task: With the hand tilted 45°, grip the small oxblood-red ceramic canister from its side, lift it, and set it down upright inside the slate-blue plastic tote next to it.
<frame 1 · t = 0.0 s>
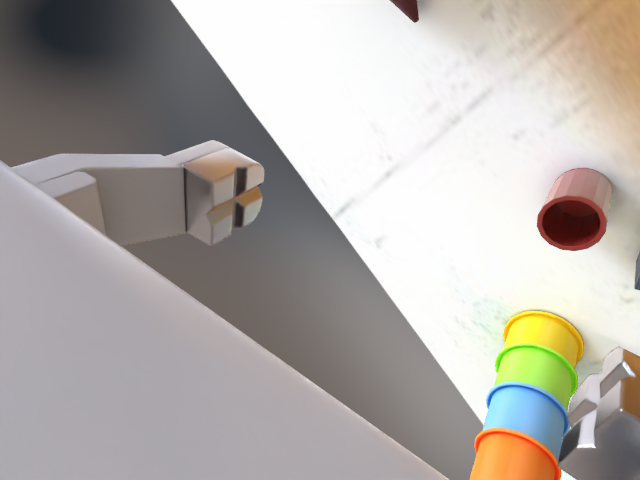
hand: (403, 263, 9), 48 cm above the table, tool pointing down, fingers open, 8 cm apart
canister: (580, 193, 50), on the table
stacking cups: (542, 338, 62), on the table
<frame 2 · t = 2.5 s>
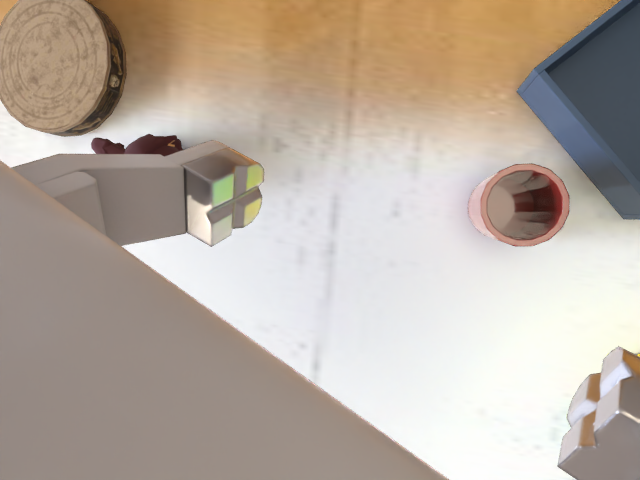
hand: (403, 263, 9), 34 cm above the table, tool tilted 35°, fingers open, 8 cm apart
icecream: (177, 170, 49), on the table
wood slice: (70, 70, 51), on the table
canister: (501, 207, 41), on the table
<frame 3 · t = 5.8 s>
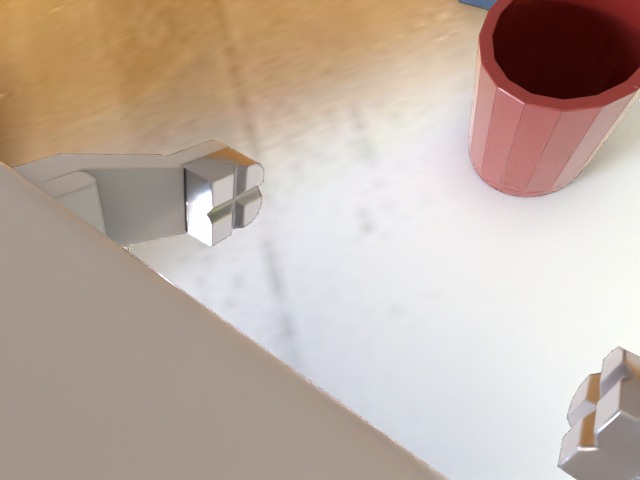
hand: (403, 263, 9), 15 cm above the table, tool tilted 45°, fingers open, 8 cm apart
canister: (527, 145, 24), on the table
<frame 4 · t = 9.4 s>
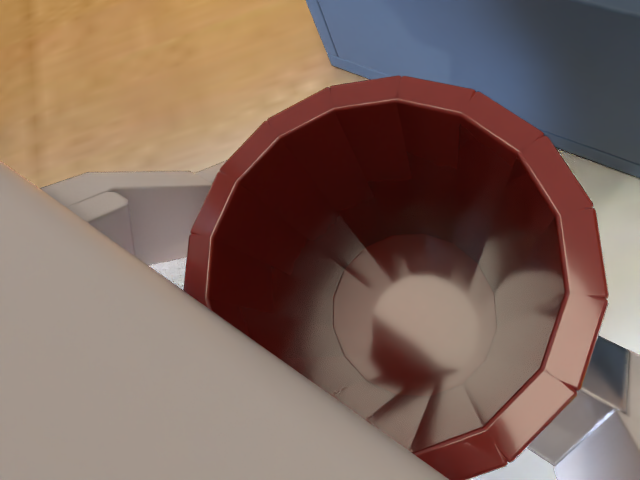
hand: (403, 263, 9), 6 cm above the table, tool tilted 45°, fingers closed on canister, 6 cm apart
canister: (412, 313, 15), on the table, touching gripper
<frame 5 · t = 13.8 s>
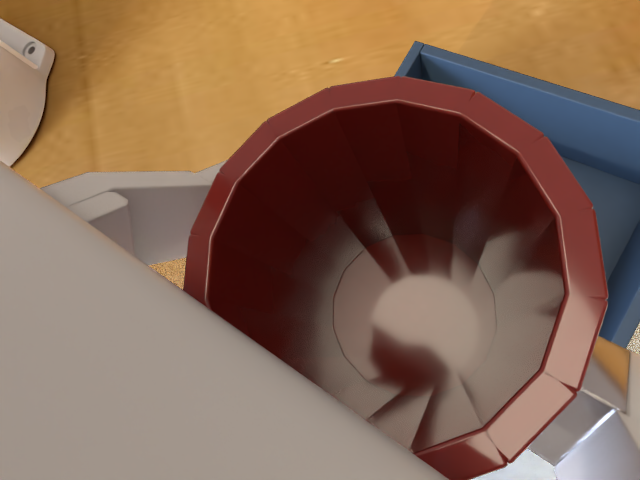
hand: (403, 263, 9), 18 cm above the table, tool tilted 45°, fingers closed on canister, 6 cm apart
tote: (472, 245, 26), on the table
canister: (412, 313, 15), point 12 cm above the table, touching gripper
when the fingers open (7 cm above the table, at t = 18.4 s): canister stays where it is, resting on tote.
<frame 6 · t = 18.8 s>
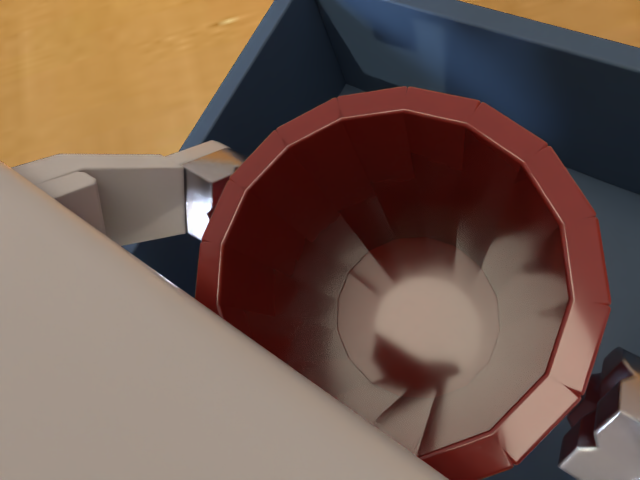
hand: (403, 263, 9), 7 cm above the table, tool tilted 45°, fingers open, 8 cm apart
tote: (414, 315, 16), on the table
canister: (415, 315, 15), point 1 cm above the table, touching tote
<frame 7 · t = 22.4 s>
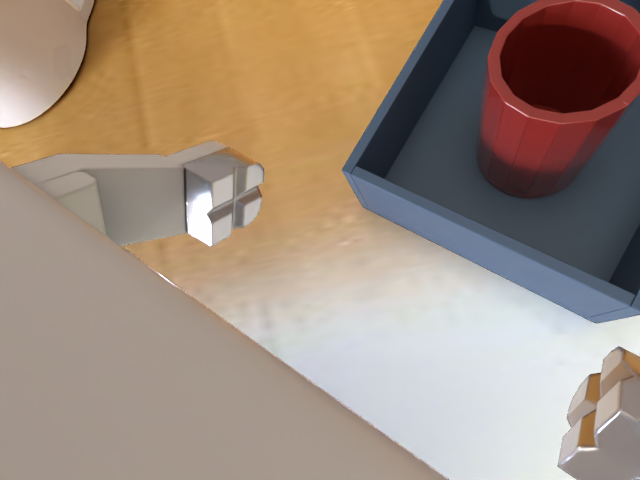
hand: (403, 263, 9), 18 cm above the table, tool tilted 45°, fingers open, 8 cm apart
tote: (525, 155, 27), on the table
canister: (529, 151, 26), point 1 cm above the table, touching tote
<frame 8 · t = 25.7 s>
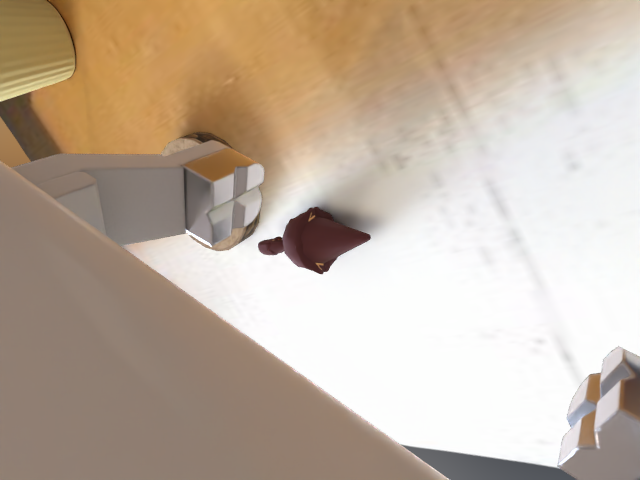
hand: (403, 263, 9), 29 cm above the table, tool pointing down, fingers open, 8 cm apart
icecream: (331, 227, 50), on the table
wood slice: (216, 189, 59), on the table
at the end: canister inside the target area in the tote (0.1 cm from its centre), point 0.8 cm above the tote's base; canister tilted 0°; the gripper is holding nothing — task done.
